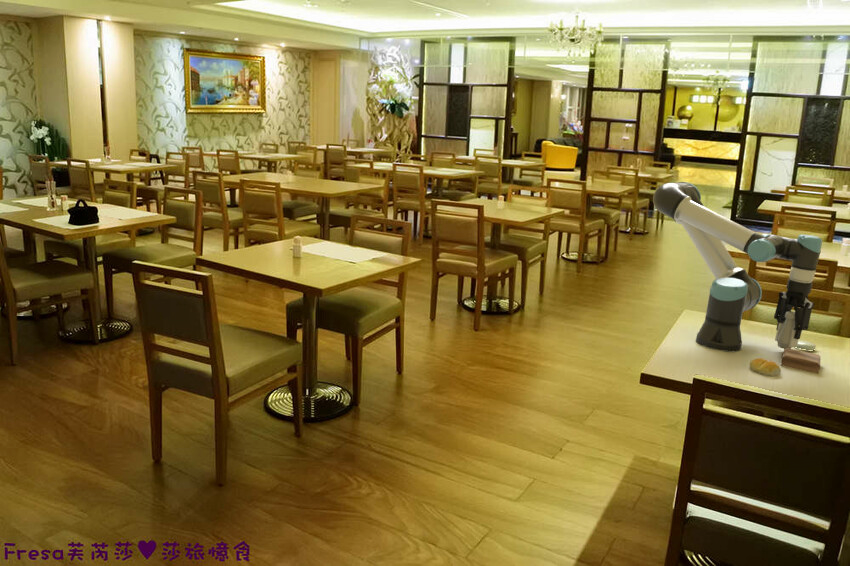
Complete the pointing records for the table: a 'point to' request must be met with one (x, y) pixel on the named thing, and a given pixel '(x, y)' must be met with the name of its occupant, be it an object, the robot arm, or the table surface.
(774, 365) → the bread roll
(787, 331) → the salt shaker
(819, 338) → the table surface
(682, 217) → the robot arm
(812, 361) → the stand
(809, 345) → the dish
